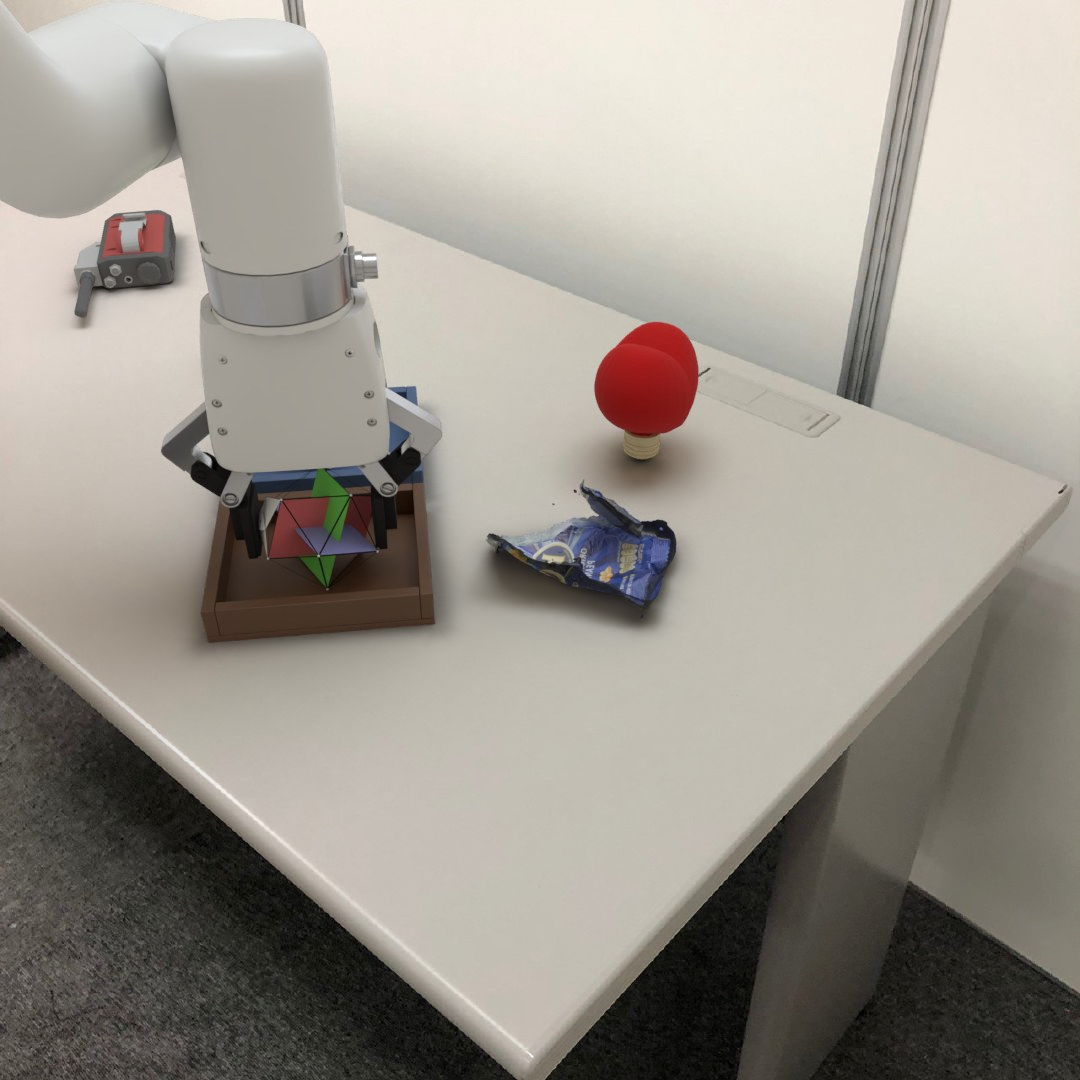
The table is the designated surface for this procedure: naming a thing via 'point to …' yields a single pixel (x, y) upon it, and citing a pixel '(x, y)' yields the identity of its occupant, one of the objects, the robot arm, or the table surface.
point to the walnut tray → (305, 607)
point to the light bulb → (648, 385)
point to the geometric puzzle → (318, 526)
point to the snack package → (599, 551)
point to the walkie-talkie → (127, 255)
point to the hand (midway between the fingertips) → (319, 538)
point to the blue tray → (285, 479)
